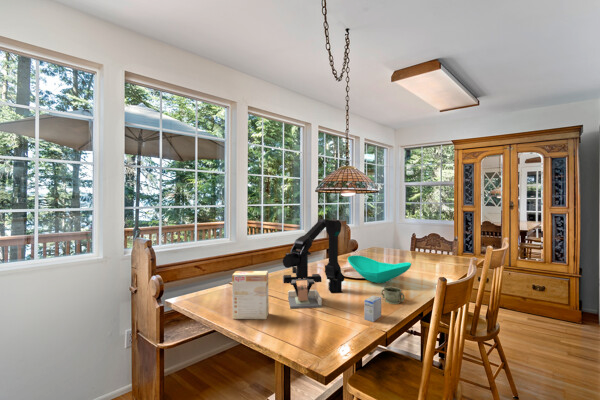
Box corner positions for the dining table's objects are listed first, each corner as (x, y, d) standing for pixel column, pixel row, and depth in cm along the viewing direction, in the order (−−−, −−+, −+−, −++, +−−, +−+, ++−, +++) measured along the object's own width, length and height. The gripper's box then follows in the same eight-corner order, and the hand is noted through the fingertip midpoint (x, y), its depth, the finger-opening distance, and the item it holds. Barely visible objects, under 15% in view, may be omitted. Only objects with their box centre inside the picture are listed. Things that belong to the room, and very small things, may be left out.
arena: (316, 297, 161) (316, 289, 161) (321, 307, 147) (321, 298, 147) (288, 298, 160) (288, 290, 160) (290, 308, 146) (290, 300, 146)
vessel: (377, 301, 156) (377, 288, 155) (384, 296, 163) (384, 284, 162) (401, 306, 148) (401, 293, 148) (407, 301, 155) (407, 289, 155)
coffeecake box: (268, 313, 140) (268, 270, 140) (266, 319, 133) (266, 274, 133) (236, 312, 141) (235, 270, 140) (232, 319, 134) (231, 274, 133)
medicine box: (372, 314, 139) (372, 295, 139) (381, 316, 136) (381, 297, 136) (364, 319, 133) (364, 299, 133) (373, 322, 130) (373, 302, 130)
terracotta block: (307, 300, 150) (307, 289, 150) (298, 300, 150) (298, 290, 150) (305, 294, 158) (305, 284, 158) (297, 295, 158) (296, 285, 158)
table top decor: (338, 281, 191) (338, 259, 191) (359, 272, 213) (359, 252, 212) (402, 293, 167) (402, 269, 166) (418, 282, 188) (418, 260, 188)
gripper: (317, 260, 162) (317, 289, 163) (282, 261, 160) (282, 291, 161) (321, 265, 151) (321, 297, 152) (283, 266, 149) (283, 298, 150)
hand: (302, 295), depth 154 cm, fingers closed on terracotta block, 4 cm apart
